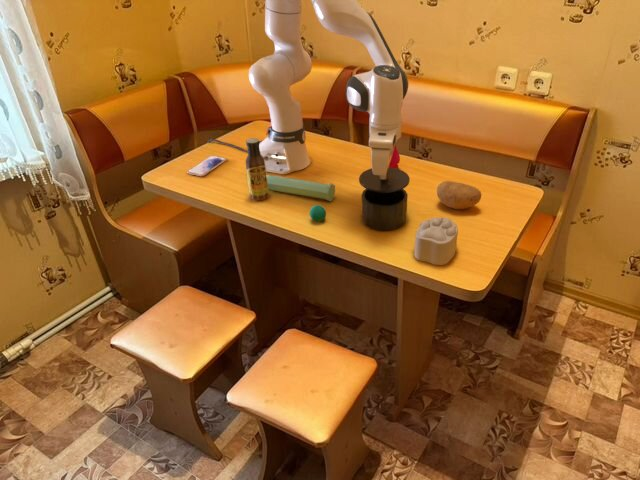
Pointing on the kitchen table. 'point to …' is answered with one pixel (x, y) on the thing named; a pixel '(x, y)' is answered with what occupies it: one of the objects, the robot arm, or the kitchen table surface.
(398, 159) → the pepper mill
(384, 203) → the pot
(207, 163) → the smartphone
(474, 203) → the potato
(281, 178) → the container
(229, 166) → the kitchen table surface
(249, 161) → the sauce bottle
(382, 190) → the pot lid
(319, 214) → the ball
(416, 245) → the lumpy-topped squat cylinder
